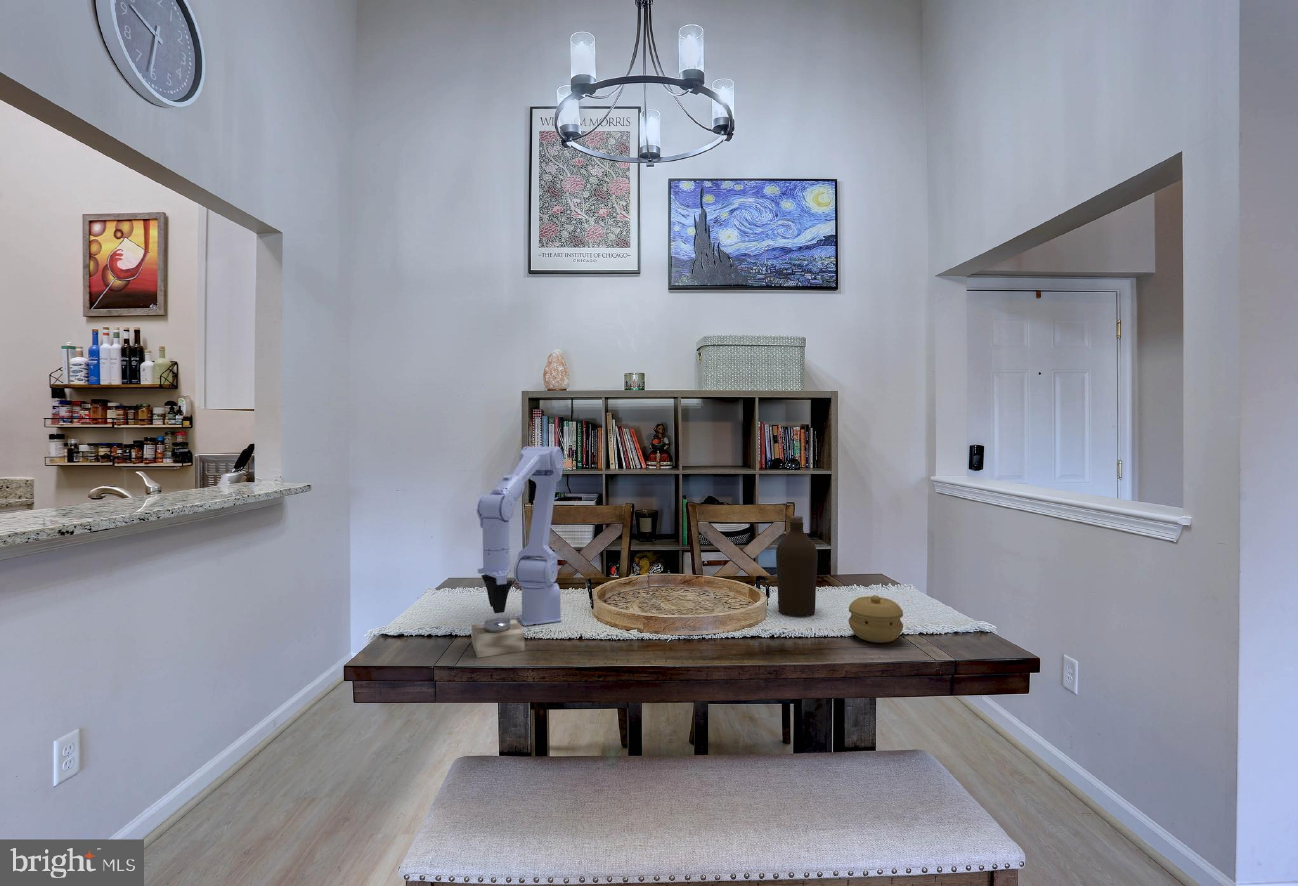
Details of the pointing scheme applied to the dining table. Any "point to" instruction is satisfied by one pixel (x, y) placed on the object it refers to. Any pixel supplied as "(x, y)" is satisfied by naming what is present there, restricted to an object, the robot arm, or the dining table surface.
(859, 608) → the lidded pot
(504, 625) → the grey metal knob
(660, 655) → the dining table surface
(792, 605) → the olive oil
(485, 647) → the maple block
